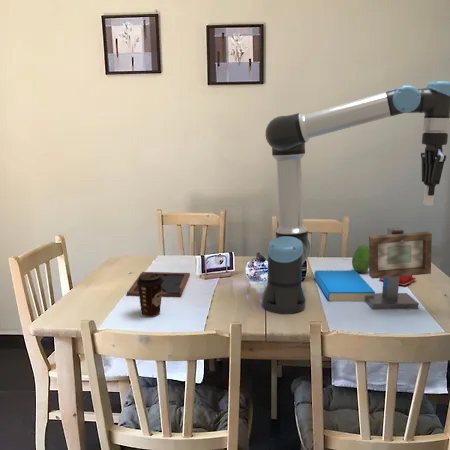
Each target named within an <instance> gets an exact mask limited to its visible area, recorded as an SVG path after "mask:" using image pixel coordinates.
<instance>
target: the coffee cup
mask: <svg viewBox="0 0 450 450" xmlns="http://www.w3.org/2000/svg"><path fill="white" fill-rule="evenodd" d="M139 276H140V275H139ZM139 276H138V277H139ZM162 283H163V279H162V277H160V275H159V274H157V273H154V274H153V273H147V274H143V275H141V276H140V277H139V279H138V281H137V284H138V290H139V296H138V297H139V305H140V315H141V316H142V317H145V318H146V317H148V318H149V317H151V318H152V317H156V316H159V315H160V314H161V306H162V305H161V304H162V297H161V296H162V286H161V284H162Z"/></svg>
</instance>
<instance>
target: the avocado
mask: <svg viewBox="0 0 450 450" xmlns="http://www.w3.org/2000/svg"><path fill="white" fill-rule="evenodd" d="M351 265H352V269H353V271H356V272H357V273H361V274H362V273H366V272H367V271H369V246H367V245H365V244H362V245H358V247H357V248H356V250H355V252H354V253H353V255H352V259H351Z"/></svg>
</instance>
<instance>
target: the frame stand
mask: <svg viewBox="0 0 450 450" xmlns="http://www.w3.org/2000/svg"><path fill="white" fill-rule="evenodd" d="M404 232H405V231H404V229H402V228H400V227H387V232H386V233H387V234H386V235H391V234H404ZM399 277H400V276H398V277H386V278H384V279H383V280H382V292H381V293H380V292H379V293H377V292H375V293H374V296H365V301H364V302H365V303H366V304H367V305H368V307H370V309H371V310H419V304H420V303H419V302H418V301H417V300H415V299H414V298H413V297H412V296H410V294H408V293H406V292H399V286H400V285H399Z"/></svg>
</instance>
